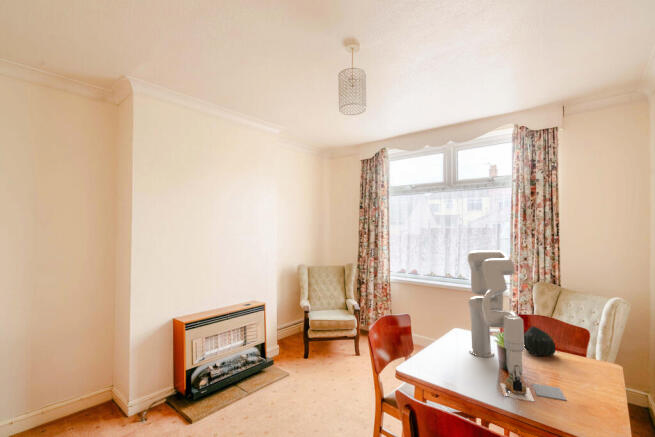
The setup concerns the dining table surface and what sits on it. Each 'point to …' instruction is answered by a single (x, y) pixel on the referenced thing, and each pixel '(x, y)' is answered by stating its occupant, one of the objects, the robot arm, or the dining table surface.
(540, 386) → the grey mat
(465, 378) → the dining table surface
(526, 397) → the tile
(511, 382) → the ornament
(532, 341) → the squash
